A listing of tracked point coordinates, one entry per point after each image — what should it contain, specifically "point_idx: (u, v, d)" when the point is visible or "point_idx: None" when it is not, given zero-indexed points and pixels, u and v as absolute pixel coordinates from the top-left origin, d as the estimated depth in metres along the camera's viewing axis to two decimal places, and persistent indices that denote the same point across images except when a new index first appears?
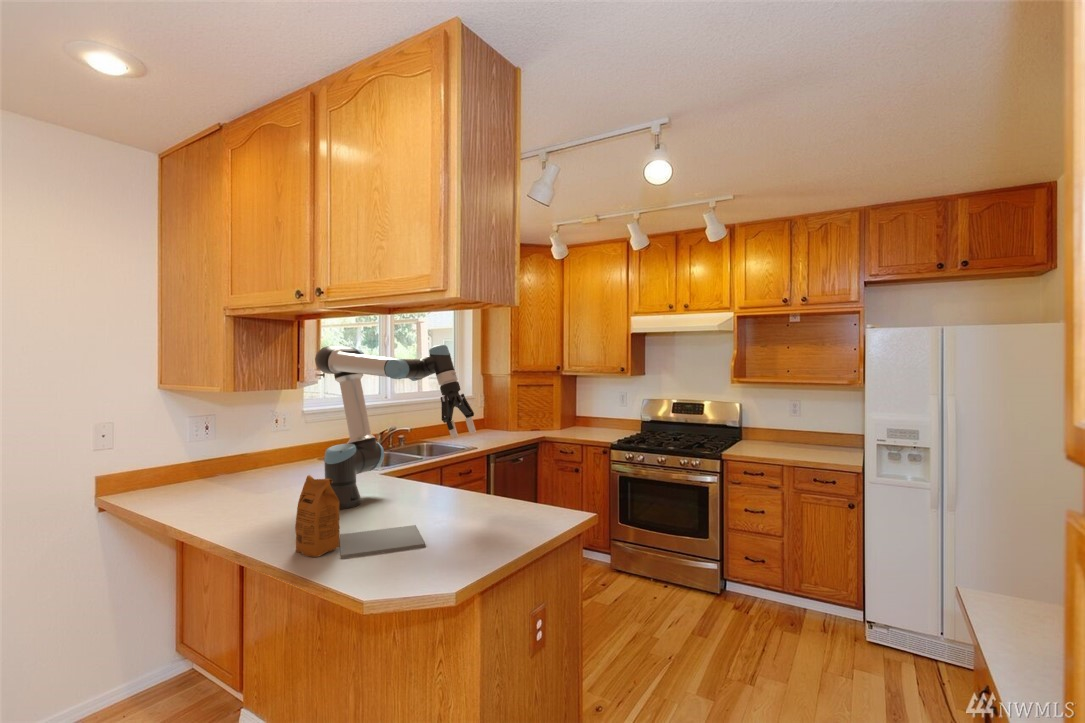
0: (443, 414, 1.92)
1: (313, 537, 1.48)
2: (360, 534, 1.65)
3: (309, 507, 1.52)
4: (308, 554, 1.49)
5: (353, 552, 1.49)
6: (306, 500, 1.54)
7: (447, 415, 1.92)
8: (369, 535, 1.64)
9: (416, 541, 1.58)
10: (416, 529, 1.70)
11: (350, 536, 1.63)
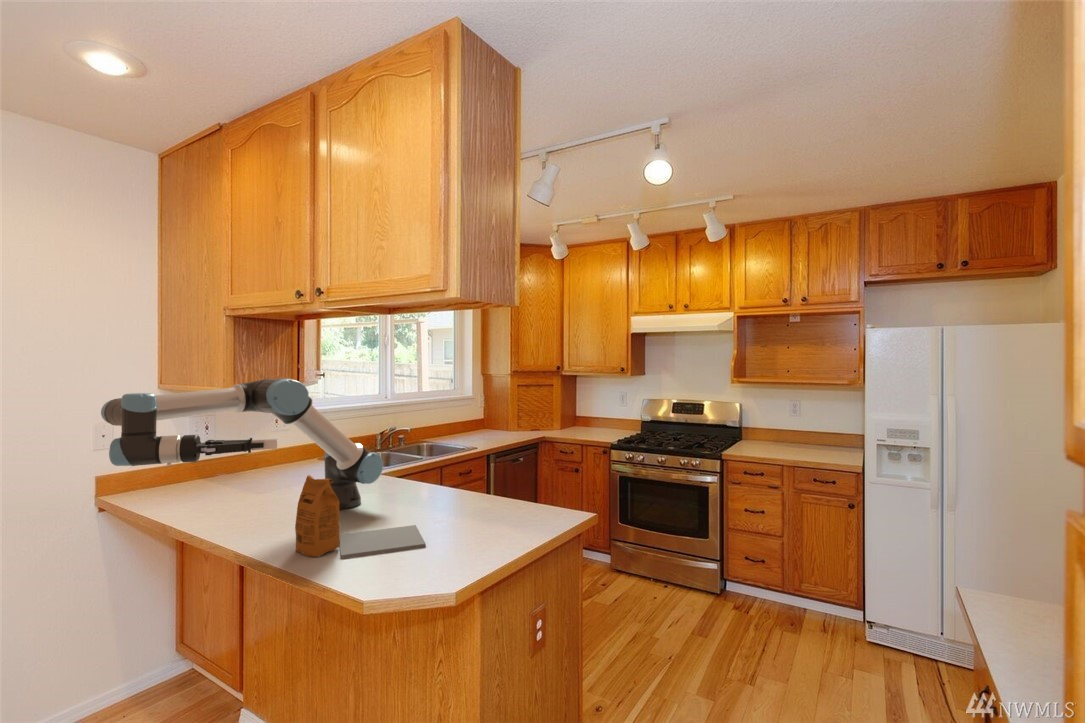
0: None
1: (313, 537, 1.48)
2: (360, 534, 1.65)
3: (309, 507, 1.52)
4: (308, 554, 1.49)
5: (353, 552, 1.49)
6: (306, 500, 1.53)
7: None
8: (369, 535, 1.64)
9: (416, 541, 1.58)
10: (416, 529, 1.70)
11: (350, 536, 1.63)
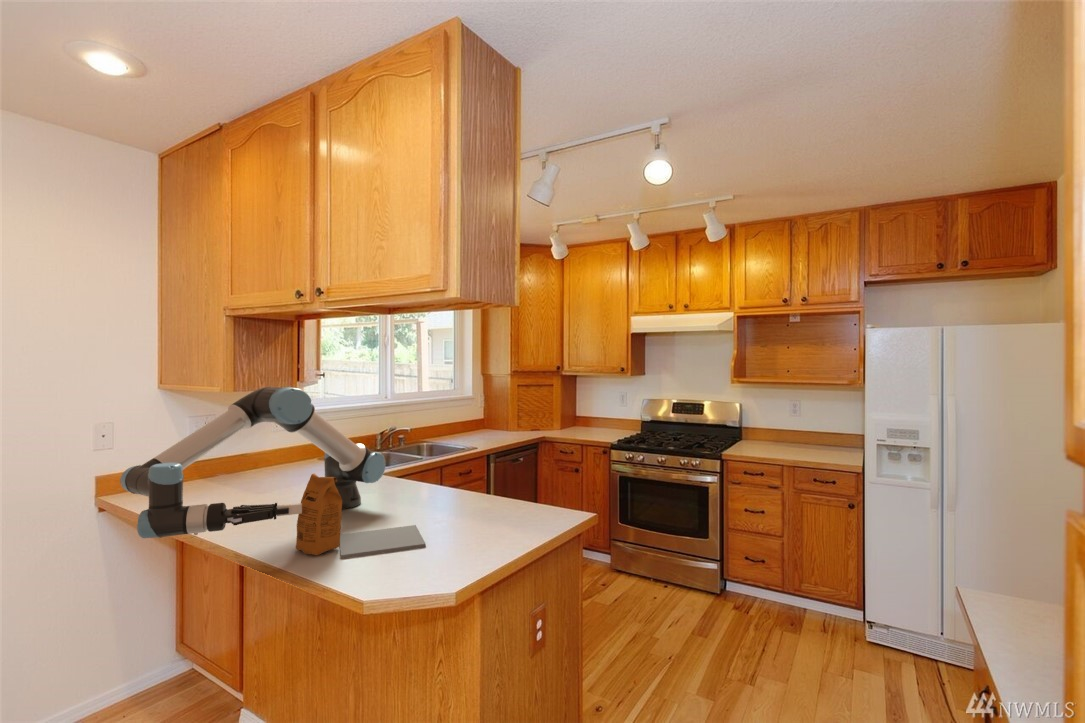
0: None
1: (315, 535, 1.49)
2: (360, 534, 1.65)
3: (312, 504, 1.53)
4: (308, 552, 1.49)
5: (353, 552, 1.49)
6: (309, 498, 1.54)
7: None
8: (369, 535, 1.64)
9: (416, 541, 1.58)
10: (416, 529, 1.70)
11: (350, 536, 1.63)
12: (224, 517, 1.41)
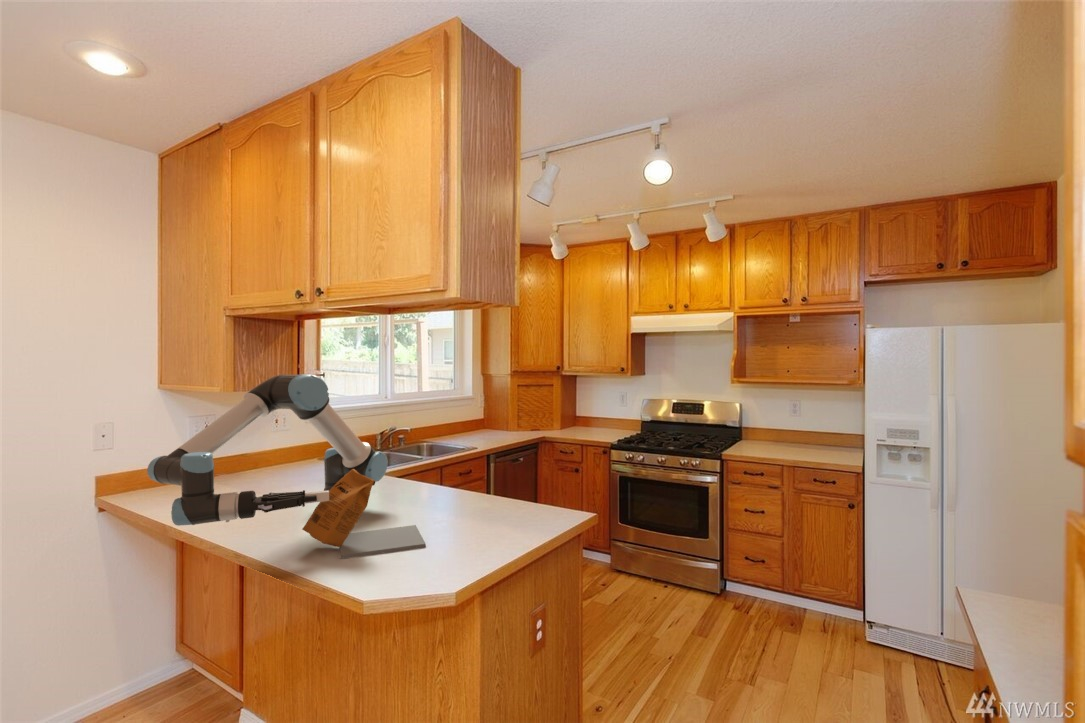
0: None
1: (331, 524, 1.51)
2: (360, 534, 1.65)
3: (341, 495, 1.57)
4: (316, 536, 1.50)
5: (353, 552, 1.49)
6: (341, 488, 1.59)
7: None
8: (369, 535, 1.64)
9: (416, 541, 1.58)
10: (416, 529, 1.70)
11: (350, 536, 1.63)
12: (255, 504, 1.44)
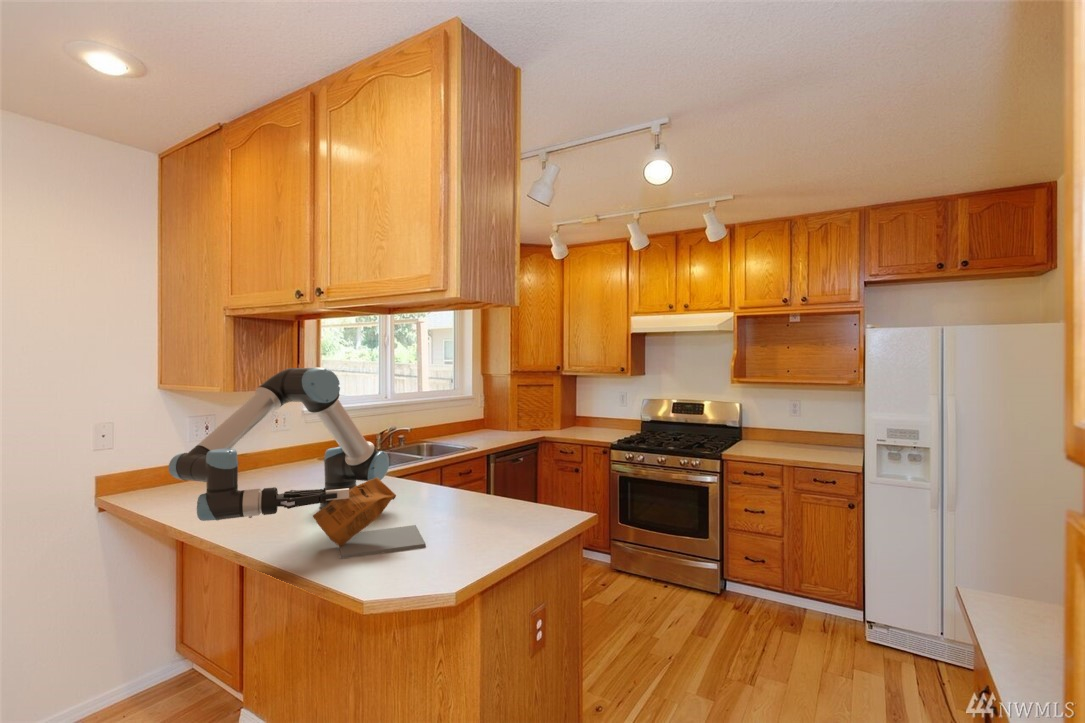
0: None
1: (344, 520, 1.53)
2: (360, 534, 1.65)
3: (361, 497, 1.60)
4: (326, 527, 1.51)
5: (353, 552, 1.49)
6: (362, 491, 1.62)
7: None
8: (369, 535, 1.64)
9: (416, 541, 1.58)
10: (416, 529, 1.70)
11: None
12: (278, 501, 1.47)
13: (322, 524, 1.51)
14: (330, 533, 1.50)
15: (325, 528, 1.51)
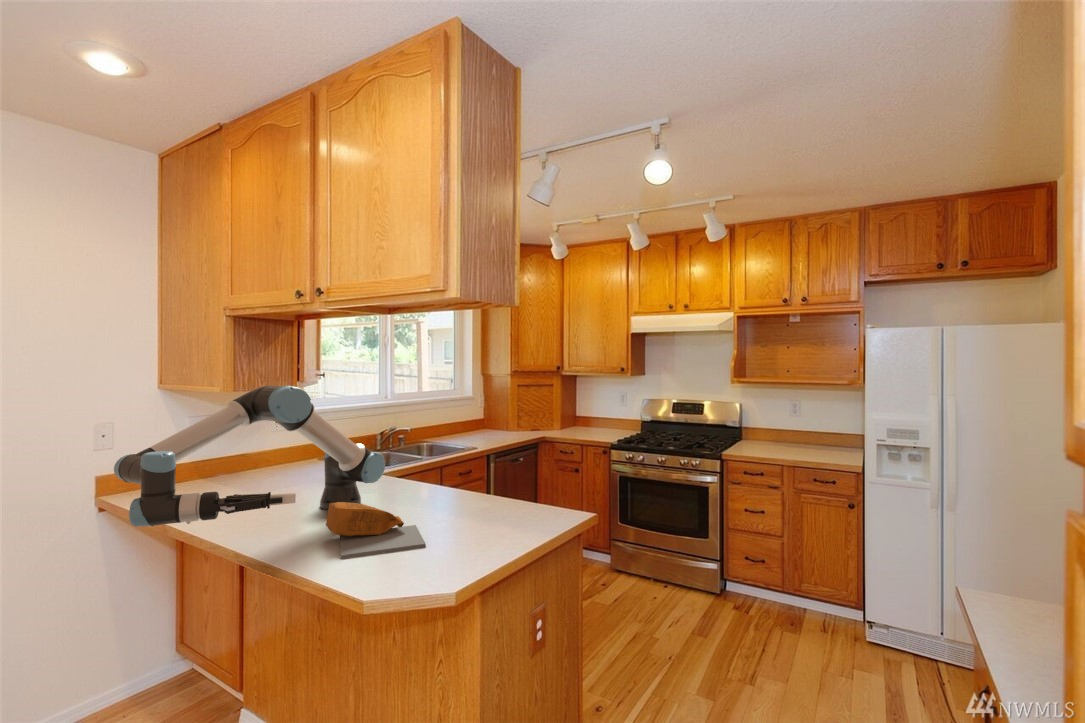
0: None
1: (354, 507, 1.61)
2: None
3: None
4: (336, 504, 1.60)
5: (353, 552, 1.49)
6: None
7: None
8: (369, 535, 1.64)
9: (416, 541, 1.58)
10: (416, 529, 1.70)
11: (350, 536, 1.63)
12: (217, 506, 1.41)
13: (335, 503, 1.62)
14: (337, 507, 1.58)
15: (335, 505, 1.60)
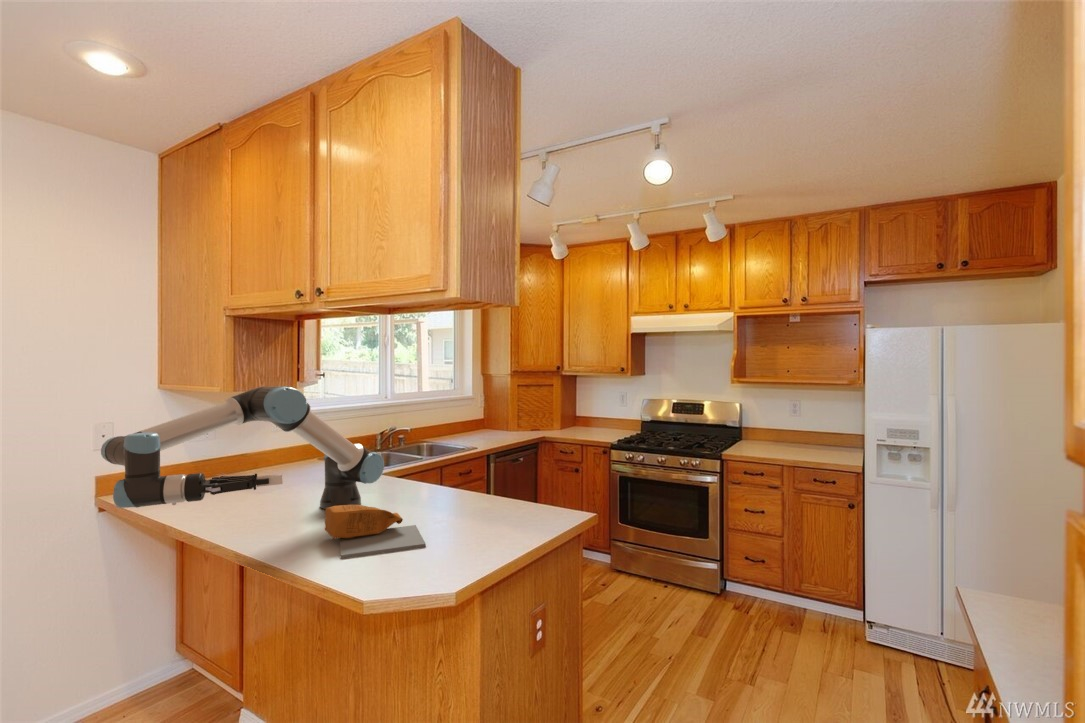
0: None
1: (350, 509, 1.61)
2: None
3: None
4: (332, 508, 1.60)
5: (353, 552, 1.49)
6: None
7: None
8: (369, 535, 1.64)
9: (416, 541, 1.58)
10: (416, 529, 1.70)
11: None
12: (202, 487, 1.40)
13: (330, 507, 1.61)
14: (333, 511, 1.58)
15: (331, 509, 1.60)
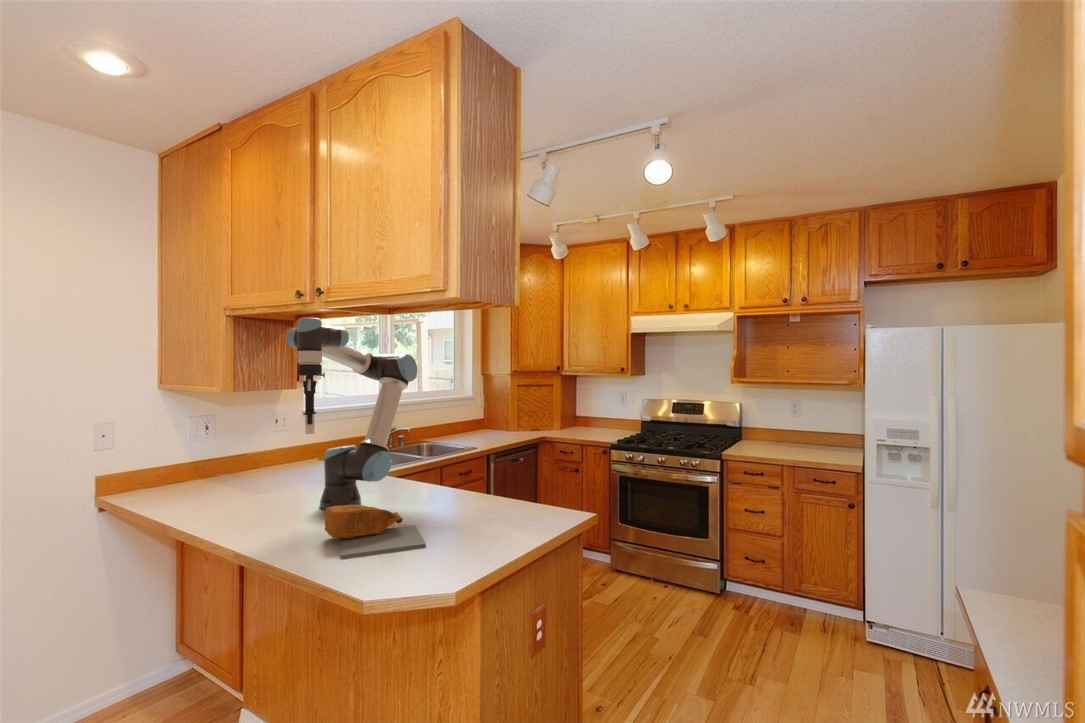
0: None
1: (350, 509, 1.61)
2: None
3: None
4: (332, 509, 1.60)
5: (353, 552, 1.49)
6: None
7: None
8: (369, 535, 1.64)
9: (416, 541, 1.58)
10: (416, 529, 1.70)
11: None
12: (311, 377, 1.71)
13: (330, 507, 1.61)
14: (333, 511, 1.58)
15: (331, 509, 1.60)
